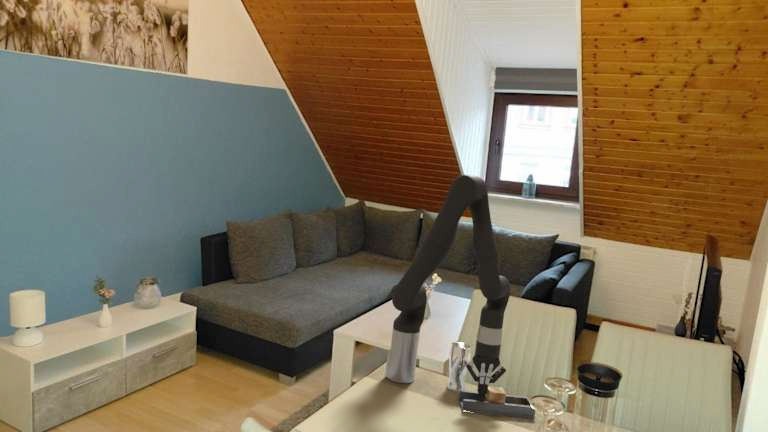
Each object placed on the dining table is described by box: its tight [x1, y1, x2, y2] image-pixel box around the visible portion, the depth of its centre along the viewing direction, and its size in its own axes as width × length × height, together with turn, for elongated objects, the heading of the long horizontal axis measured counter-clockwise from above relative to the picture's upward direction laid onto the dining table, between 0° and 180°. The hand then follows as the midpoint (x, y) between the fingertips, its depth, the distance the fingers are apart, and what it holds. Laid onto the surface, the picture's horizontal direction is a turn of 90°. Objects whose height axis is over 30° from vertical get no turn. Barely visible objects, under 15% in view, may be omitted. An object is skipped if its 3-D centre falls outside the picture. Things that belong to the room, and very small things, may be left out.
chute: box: [457, 390, 536, 420], centre depth 169 cm, size 22×9×4 cm, turn 91°
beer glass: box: [446, 341, 472, 393], centre depth 183 cm, size 7×7×15 cm
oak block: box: [485, 385, 507, 403], centre depth 169 cm, size 5×5×5 cm
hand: (481, 394), depth 169 cm, fingers closed
